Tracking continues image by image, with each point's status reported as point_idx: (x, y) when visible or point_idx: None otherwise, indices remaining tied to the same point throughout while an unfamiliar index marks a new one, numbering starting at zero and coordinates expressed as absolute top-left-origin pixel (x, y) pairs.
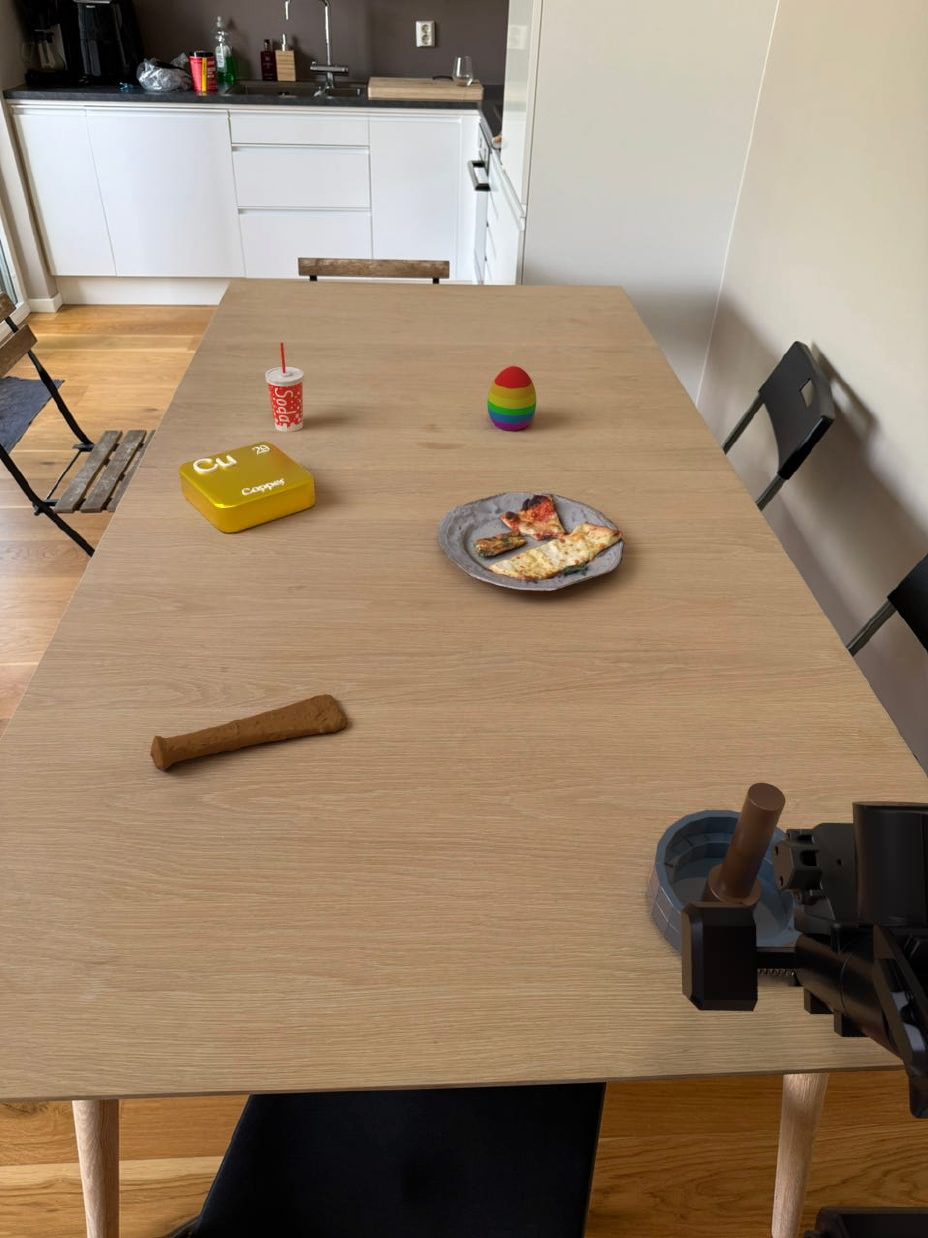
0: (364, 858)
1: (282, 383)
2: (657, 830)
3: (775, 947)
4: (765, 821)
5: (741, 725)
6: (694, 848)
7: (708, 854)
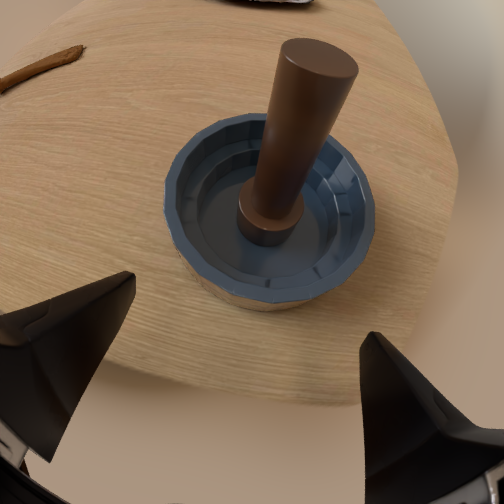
0: (25, 136)
1: None
2: None
3: (38, 491)
4: (304, 99)
5: (354, 86)
6: (253, 151)
7: None
